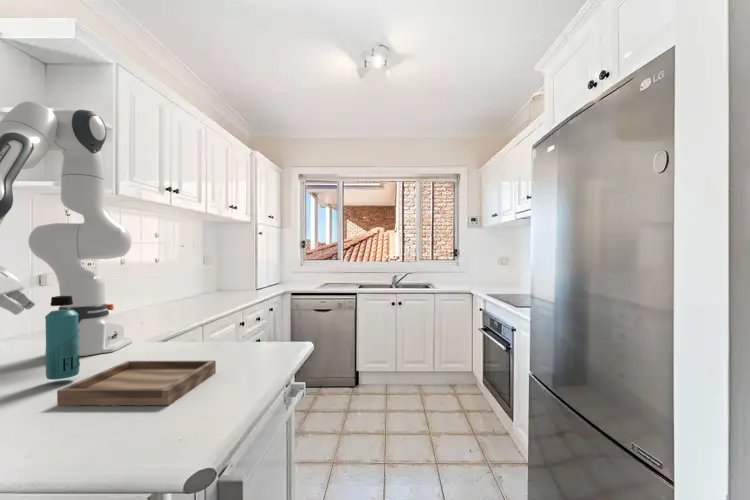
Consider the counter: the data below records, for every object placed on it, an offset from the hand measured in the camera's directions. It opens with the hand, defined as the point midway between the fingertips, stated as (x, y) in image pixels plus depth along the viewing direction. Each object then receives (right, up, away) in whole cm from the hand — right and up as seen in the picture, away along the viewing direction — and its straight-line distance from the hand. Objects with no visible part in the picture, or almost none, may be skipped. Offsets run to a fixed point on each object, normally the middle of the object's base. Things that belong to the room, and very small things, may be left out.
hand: (26, 309), depth 93 cm
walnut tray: (+28, -17, -2) cm, 33 cm away
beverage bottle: (+6, -17, +3) cm, 19 cm away
